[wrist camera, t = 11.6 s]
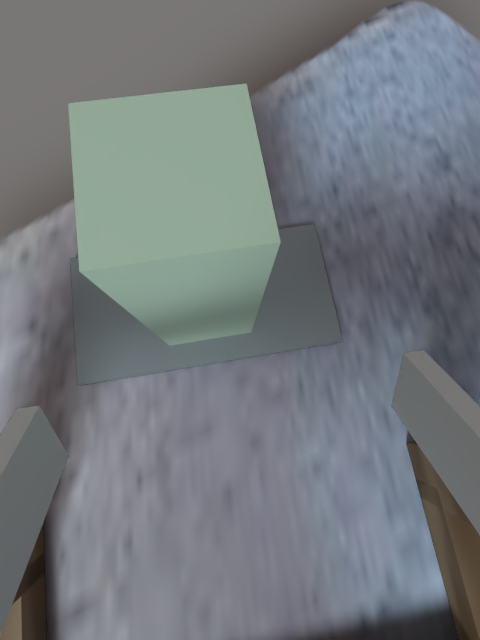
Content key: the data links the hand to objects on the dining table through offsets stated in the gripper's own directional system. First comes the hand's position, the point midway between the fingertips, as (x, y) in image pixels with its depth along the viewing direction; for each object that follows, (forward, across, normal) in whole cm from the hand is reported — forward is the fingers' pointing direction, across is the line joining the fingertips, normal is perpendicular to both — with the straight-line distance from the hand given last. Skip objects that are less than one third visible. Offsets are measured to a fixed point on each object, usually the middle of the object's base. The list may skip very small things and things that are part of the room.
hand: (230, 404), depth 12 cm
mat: (+10, +1, +1) cm, 10 cm away
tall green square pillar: (+9, +1, 0) cm, 9 cm away
